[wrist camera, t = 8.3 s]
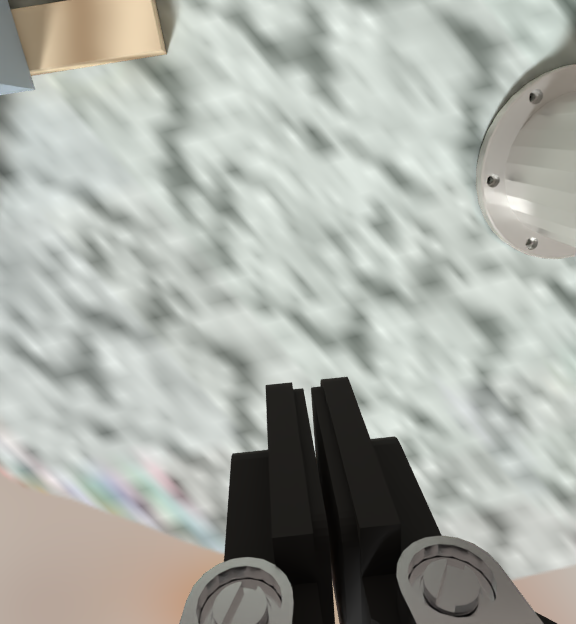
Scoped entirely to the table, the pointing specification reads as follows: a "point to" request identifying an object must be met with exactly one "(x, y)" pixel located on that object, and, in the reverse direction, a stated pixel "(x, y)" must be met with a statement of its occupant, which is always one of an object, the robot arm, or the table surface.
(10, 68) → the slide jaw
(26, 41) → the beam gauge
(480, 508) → the table surface
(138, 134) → the table surface
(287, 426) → the robot arm
